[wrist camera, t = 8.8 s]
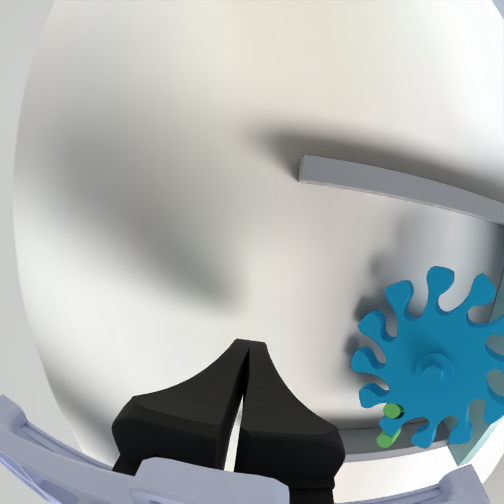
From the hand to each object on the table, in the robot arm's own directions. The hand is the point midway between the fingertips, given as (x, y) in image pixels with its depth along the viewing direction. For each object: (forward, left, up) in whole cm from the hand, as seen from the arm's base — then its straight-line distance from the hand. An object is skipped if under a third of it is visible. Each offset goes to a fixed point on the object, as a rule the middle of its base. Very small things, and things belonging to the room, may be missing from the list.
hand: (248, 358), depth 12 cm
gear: (0, -9, -3) cm, 10 cm away
